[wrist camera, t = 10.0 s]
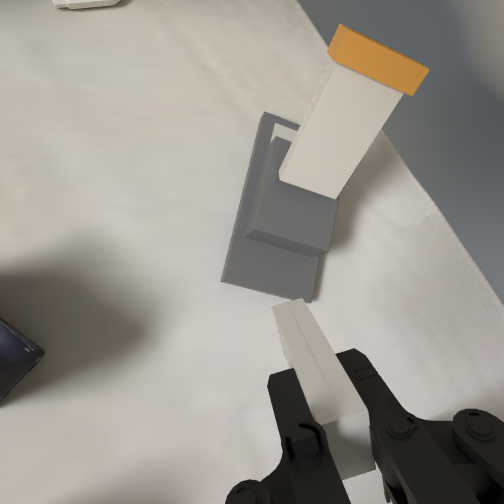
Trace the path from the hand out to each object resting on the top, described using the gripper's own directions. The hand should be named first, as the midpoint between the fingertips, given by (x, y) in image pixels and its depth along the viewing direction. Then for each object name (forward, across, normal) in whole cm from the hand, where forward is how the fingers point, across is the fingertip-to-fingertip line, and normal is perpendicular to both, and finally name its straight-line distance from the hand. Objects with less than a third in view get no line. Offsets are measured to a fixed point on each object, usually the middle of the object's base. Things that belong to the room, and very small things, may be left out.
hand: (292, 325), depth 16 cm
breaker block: (+24, +5, -2) cm, 24 cm away
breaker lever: (+19, +6, +1) cm, 20 cm away
